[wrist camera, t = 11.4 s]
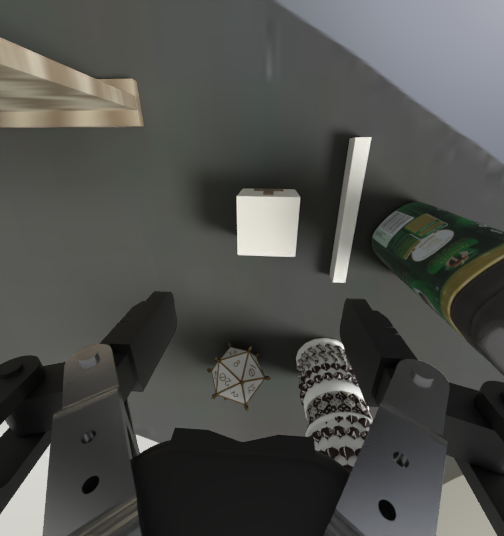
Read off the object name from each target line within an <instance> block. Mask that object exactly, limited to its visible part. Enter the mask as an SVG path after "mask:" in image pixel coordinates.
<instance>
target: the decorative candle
mask: <svg viewBox="0 0 504 536" xmlns="http://www.w3.org/2000/svg"><path fill="white" fill-rule="evenodd" d="M296 361H297V367H296V368H297V369H298V370H299V371H300V372H299V373H298V375H297V377H298V378H300V381H299V389H300V390H301V392H300V393H301V394H300V398H301V400H302V405H303V406H304V410H305V415H306V418H307V421H308V429H307V431H306V434H305V436H306V437H313V439H314V446H315V450H316V451H319V452H321V453H323V454H325V455H327V456H329V457H331V458H332V459H334V460H336V461H337V462H339V463H340V464H341V465H342V466H344V467H345V468H346V469H347V470H348V471H349V472H350V473H351V471H352V469H353V467H354V464H355V462H356V459H357V457H358V455H359V452H360V450H361V448H362V445H363V443H364V440H365V438H366V436H367V433H368V431H369V429H370V426H371V424H372V422H373V420H372V417H371V414H370V412H369V406H366V403H365V401H364V398H363V395H362V393H361V390H360V388H359V385H358V382H357V380H356V377H355V375H354V372H353V370H352V367H351V364H350V362H349V359H348V357H347V354H346V352H345V349H344V346H343V344H342V343H341V342H340V341H338V340H336V339H331V338H318V339H313V340H311V341H309V342H307V343H305V344H304V345H303V346H302V347H301V348H300V349H299V350H298V353H297V356H296Z"/></svg>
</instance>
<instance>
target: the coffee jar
mask: <svg viewBox="0 0 504 536" xmlns="http://www.w3.org/2000/svg"><path fill="white" fill-rule="evenodd" d="M371 244H372V248H373V250H374V252H375V253H376V255H377V256H378V257H379V258H380V260H381V261H382V262H383V263H384V264H385V265H386V266H387V267H388V268H389V269H390V270H391V271H392V272H393V273H394V274H395V275H396V276H398V277H399V278H400V279H401V280H402V281H403V282H404V283H405V284H407V285H408V286H409V287H410V288H411V289H412V290H413V291H414V292H415V293H416V294H417V295H418V296H419V297H420V298H421V299H422V300H423V301H425V303H426V304H428V305H429V306H430V307H431V308H432V309H433V310H434V311H435V312H436V313H437V314H438V315H440V316H441V317H442V318H443V319H444V320H445V321H446V322H447V323H448V324H449V325H450V326H451V327H452V328H453V329H454V330H455V331H457V332H458V333H459V334H460V335H461V336H462V337H463V338H464V339H465V340H466V341H467V342H468V343H469V344H470V345H471V346H472V347H474V348H475V349H476V350H477V351H478V352H479V353H480V354H482V355H483V356H484V357H485V358H486V359H487V360H488V361H489V362H490V363H491V364H492V365H493V366H494V367H495V368H496V369H497V370H498V371H499V372H500V373H501V374H502V375H503V376H504V232H503V231H500V230H497V229H494V228H491V227H488V226H485V225H483V224H480V223H477V222H474V221H471V220H468V219H466V218H463V217H460V216H458V215H455V214H452V213H450V212H447V211H445V210H442V209H439V208H437V207H434V206H431V205H428V204H425V203H421V202H413V203H409V204H406V205H404V206H402V207H400V208H399V209H397V210H396V211H394V212H393V213H392V214H390V215H389V216H388V217H387V218H386V219H385V220H383V222H382V223H381V224H380V225H379V226H378V227H377V229H376V230H375V232H374V233H373V236H372V240H371Z"/></svg>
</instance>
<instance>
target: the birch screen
mask: <svg viewBox="0 0 504 536" xmlns="http://www.w3.org/2000/svg"><path fill="white" fill-rule="evenodd" d="M72 127H144V123H143V117H142V111H141V105H140V99H139V93H138V87H137V81H135V80H133V79H95V78H92V77H90V76H88V75H85V74H83V73H81V72H78V71H76V70H74V69H72V68H69V67H67V66H65V65H62V64H60V63H58V62H55V61H53V60H51V59H49V58H46V57H44V56H42V55H39V54H37V53H35V52H32V51H30V50H28V49H25V48H23V47H21V46H19V45H16V44H14V43H12V42H9V41H7V40H5V39H2V38H0V128H72Z"/></svg>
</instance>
